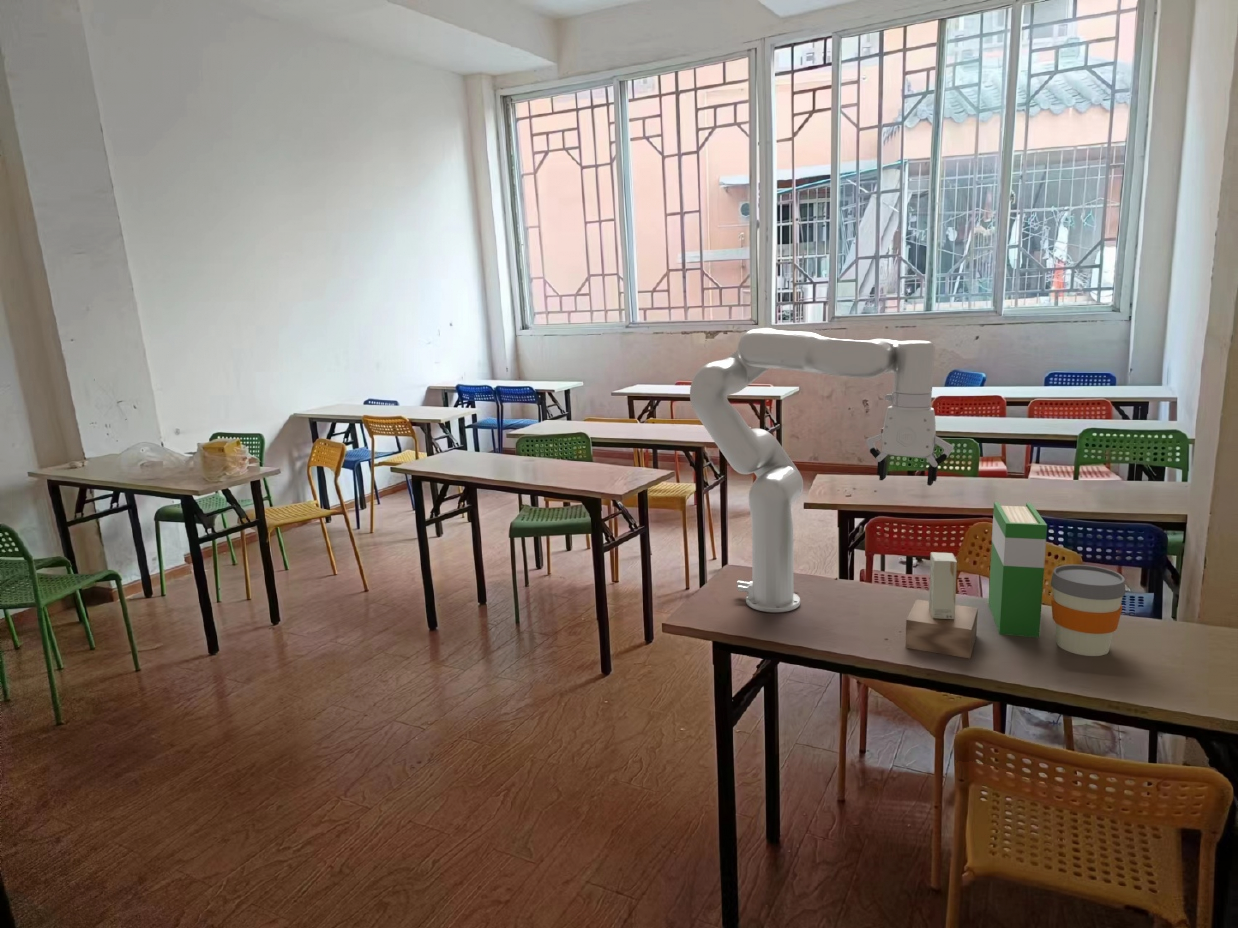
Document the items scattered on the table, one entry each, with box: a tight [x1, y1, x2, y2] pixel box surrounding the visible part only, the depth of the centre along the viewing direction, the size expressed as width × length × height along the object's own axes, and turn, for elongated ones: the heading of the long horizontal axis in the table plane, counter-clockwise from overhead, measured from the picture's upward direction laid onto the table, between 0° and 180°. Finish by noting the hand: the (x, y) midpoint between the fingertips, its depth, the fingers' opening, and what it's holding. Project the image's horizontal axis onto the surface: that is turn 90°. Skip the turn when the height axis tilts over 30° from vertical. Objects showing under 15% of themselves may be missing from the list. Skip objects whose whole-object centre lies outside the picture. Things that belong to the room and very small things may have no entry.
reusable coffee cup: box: [1050, 564, 1126, 657], centre depth 151 cm, size 12×13×15 cm
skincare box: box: [928, 551, 958, 619], centre depth 155 cm, size 6×4×12 cm
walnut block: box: [905, 598, 979, 660], centre depth 157 cm, size 12×12×6 cm
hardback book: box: [988, 501, 1048, 638], centre depth 165 cm, size 18×7×24 cm, turn 162°
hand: (906, 481), depth 162 cm, fingers open, 9 cm apart
